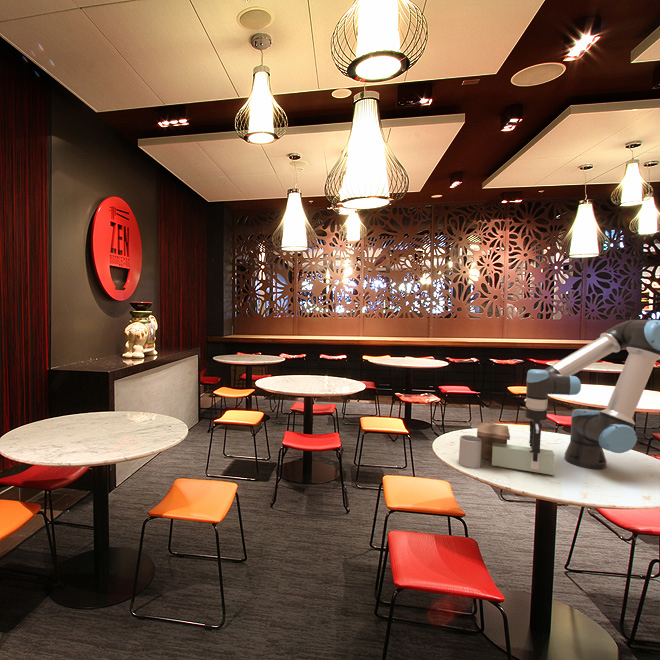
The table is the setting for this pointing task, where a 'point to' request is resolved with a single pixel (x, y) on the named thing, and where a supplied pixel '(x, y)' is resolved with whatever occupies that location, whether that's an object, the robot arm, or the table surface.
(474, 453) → the mug
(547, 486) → the table surface
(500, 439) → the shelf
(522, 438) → the table surface
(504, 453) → the pale green block
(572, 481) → the table surface
